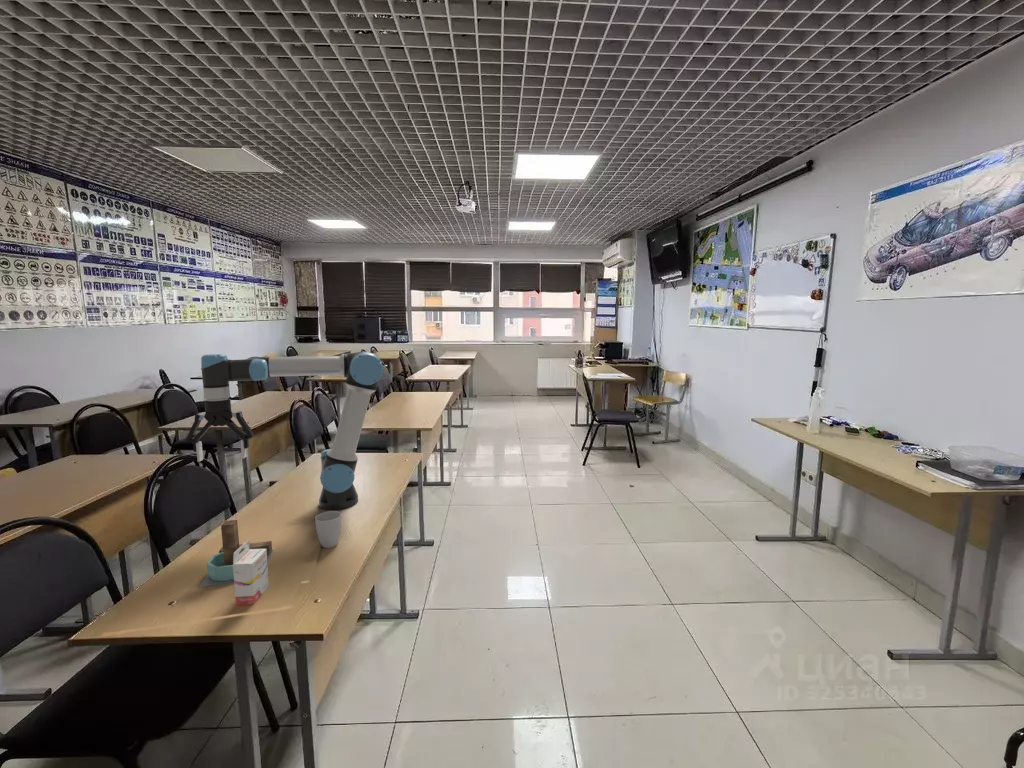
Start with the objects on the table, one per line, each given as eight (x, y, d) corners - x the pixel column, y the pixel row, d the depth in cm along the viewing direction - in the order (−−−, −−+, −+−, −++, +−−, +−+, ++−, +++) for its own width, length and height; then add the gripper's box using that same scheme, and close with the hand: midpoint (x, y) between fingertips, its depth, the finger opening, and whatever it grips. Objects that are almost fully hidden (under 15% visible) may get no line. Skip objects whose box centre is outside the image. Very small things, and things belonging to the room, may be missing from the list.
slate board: (274, 551, 145) (274, 549, 145) (258, 581, 128) (257, 579, 128) (222, 557, 142) (222, 555, 141) (198, 589, 124) (198, 587, 124)
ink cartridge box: (255, 606, 116) (251, 553, 115) (235, 607, 116) (230, 553, 114) (270, 587, 125) (266, 537, 123) (251, 588, 125) (247, 538, 123)
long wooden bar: (272, 550, 145) (271, 541, 144) (269, 555, 142) (268, 545, 141) (223, 556, 141) (222, 546, 141) (219, 561, 138) (218, 551, 138)
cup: (347, 540, 152) (346, 512, 151) (331, 551, 145) (329, 522, 144) (328, 537, 155) (327, 509, 154) (311, 548, 147) (309, 519, 146)
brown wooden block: (240, 564, 134) (237, 519, 133) (237, 569, 131) (233, 524, 130) (228, 565, 134) (225, 520, 132) (224, 571, 130) (220, 525, 129)
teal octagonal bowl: (259, 558, 139) (258, 545, 139) (248, 578, 128) (247, 564, 128) (218, 563, 137) (217, 550, 136) (203, 584, 126) (202, 569, 125)
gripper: (260, 396, 160) (264, 453, 163) (180, 399, 154) (186, 458, 157) (254, 399, 153) (258, 459, 156) (170, 402, 147) (176, 465, 150)
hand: (222, 459), depth 156 cm, fingers open, 13 cm apart
